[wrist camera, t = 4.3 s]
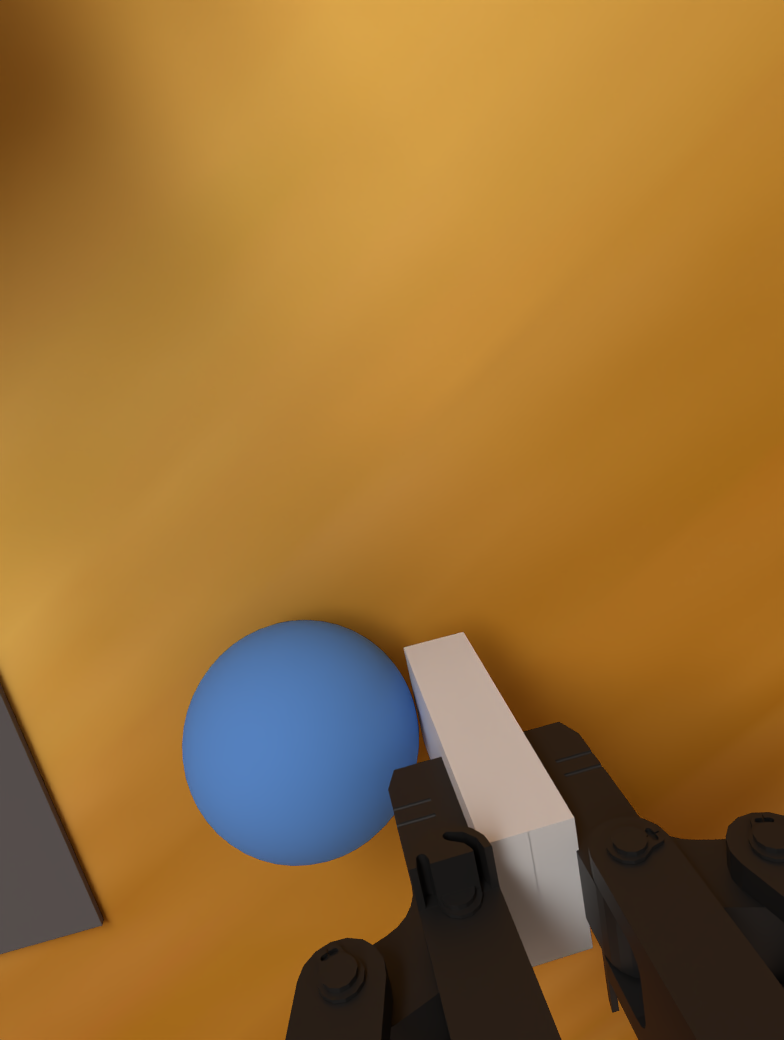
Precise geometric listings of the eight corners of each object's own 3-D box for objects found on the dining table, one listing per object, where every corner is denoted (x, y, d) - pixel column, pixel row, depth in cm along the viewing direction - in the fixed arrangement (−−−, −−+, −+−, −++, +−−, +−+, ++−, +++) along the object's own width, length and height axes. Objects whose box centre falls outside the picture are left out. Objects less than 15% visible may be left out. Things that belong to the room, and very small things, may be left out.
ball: (478, 700, 14) (222, 839, 12) (455, 831, 18) (253, 957, 16) (346, 544, 18) (128, 628, 16) (348, 679, 22) (171, 764, 19)
